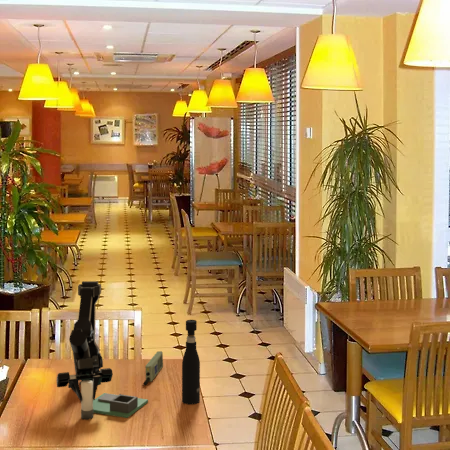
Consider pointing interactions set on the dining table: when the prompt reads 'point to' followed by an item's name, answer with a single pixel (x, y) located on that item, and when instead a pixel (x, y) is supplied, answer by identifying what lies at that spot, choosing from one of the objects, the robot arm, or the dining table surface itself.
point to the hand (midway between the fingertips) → (87, 400)
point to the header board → (117, 404)
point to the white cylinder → (87, 399)
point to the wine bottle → (191, 367)
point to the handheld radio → (154, 366)
